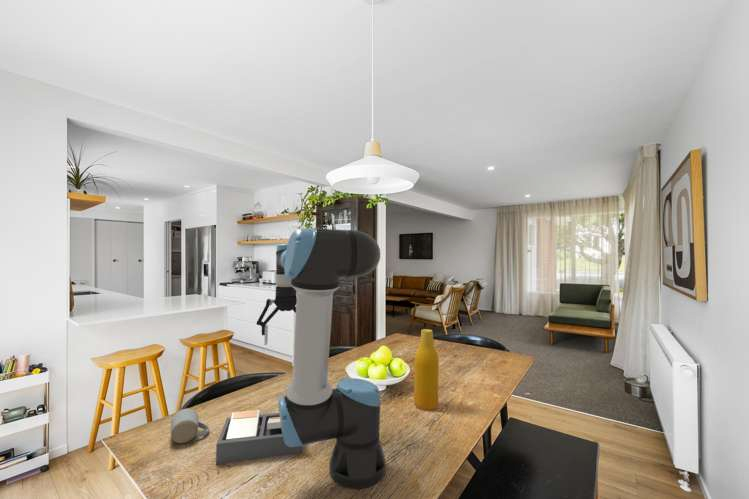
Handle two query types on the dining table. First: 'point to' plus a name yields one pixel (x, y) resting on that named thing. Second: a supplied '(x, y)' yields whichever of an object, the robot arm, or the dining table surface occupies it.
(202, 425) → the ceramic mug
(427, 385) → the beer bottle
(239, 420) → the breaker rocker
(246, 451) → the grey divided tray
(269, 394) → the dining table surface
